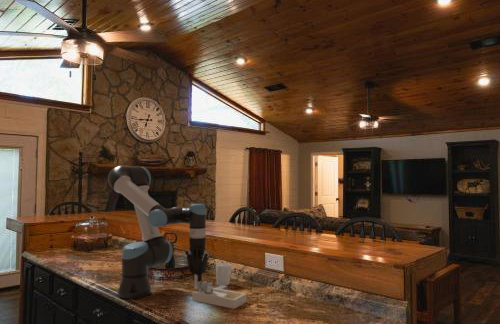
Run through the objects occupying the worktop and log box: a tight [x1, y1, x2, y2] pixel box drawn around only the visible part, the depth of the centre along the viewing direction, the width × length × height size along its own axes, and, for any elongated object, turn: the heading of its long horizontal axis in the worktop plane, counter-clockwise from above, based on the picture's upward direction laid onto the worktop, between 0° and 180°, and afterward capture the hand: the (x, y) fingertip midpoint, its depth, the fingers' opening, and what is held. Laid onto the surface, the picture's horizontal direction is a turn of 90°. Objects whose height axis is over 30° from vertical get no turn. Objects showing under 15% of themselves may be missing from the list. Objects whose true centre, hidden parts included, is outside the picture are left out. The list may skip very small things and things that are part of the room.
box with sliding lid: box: [191, 287, 247, 309], centre depth 168 cm, size 22×10×4 cm, turn 60°
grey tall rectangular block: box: [215, 285, 228, 290], centre depth 181 cm, size 4×8×2 cm, turn 150°
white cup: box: [215, 262, 232, 286], centre depth 195 cm, size 8×8×10 cm
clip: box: [198, 280, 214, 294], centre depth 172 cm, size 4×4×4 cm
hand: (197, 288), depth 174 cm, fingers closed
